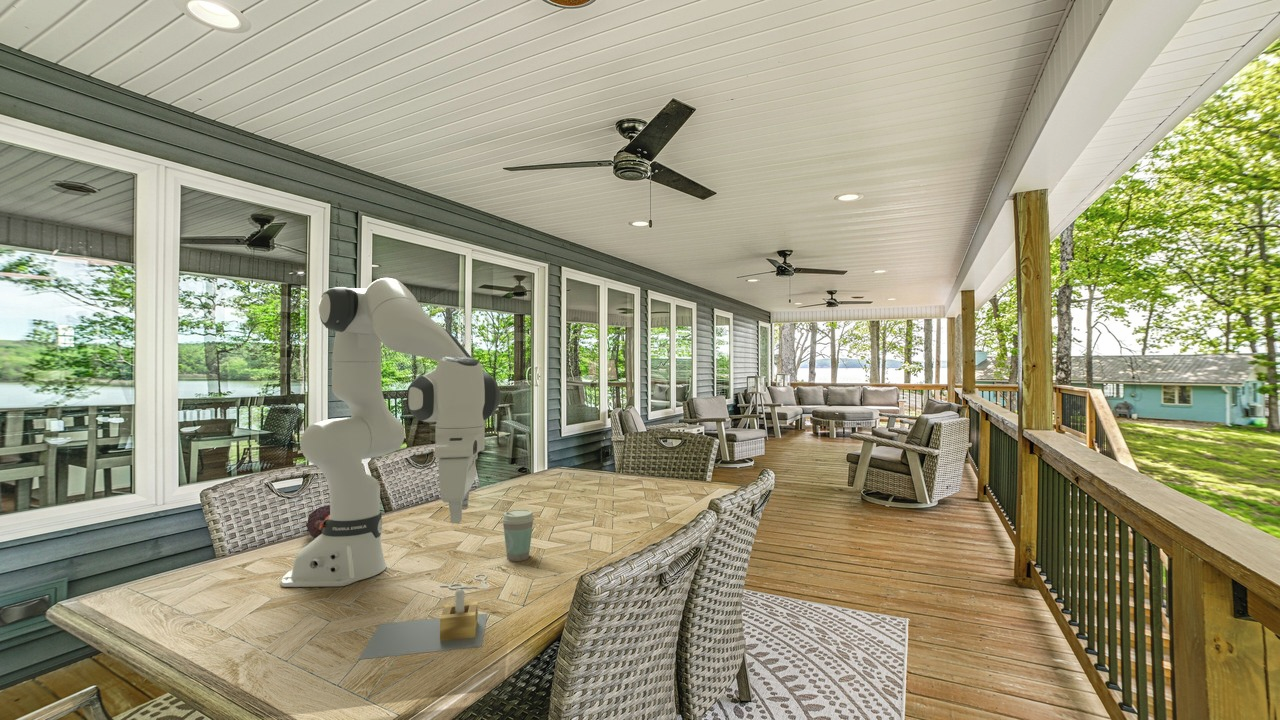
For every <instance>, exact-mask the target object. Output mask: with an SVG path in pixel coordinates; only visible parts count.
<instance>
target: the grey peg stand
mask: <svg viewBox="0 0 1280 720" xmlns="http://www.w3.org/2000/svg"><path fill="white" fill-rule="evenodd" d="M454 599H455V600H454V604H455V614H458V613H464V603H465V590H464V589H458V590H456V591H455V597H454ZM488 615H489V614H488V613H480V614H479V613H478V624H477V629H476V633H475V637H474V638H465V639H455V640H445V641H440V617H438V618H427V619H417V620H405V621H394V622H386V623H385V622H384V623H379V625H378V627H377V628H376V630H375V631H374V633H373V635H372V636H371V638H370V639H369V641H368V642H367V644H366V646H365V648H364V649H363V651H362V652H361V654H360V656H359V658H358V659H357V660H358V661H361V660H368V659H378V658H387V657H397V656H398V657H399V656H407V655H417V654H425V653H434V652H436V653H437V652H444V651H452V650H461V649H462V650H463V649H472V648H481V647H482V646H483V640H484V636H485V635H484V634H485V630H486V624H487V618H488Z"/></svg>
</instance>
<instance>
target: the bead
mask: <svg viewBox="0 0 1280 720" xmlns="http://www.w3.org/2000/svg"><path fill="white" fill-rule="evenodd" d="M478 614H479V602H478V601H477V600H476V601H469V602H468V601H467V602H464V613H458V614H455V603H446V604H445V605H444V607H443V609H442V611H441V615H440V617H439V618H440V641H445V640H455V639H465V638H474V637H475V633H476V629H477V624H478Z"/></svg>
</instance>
